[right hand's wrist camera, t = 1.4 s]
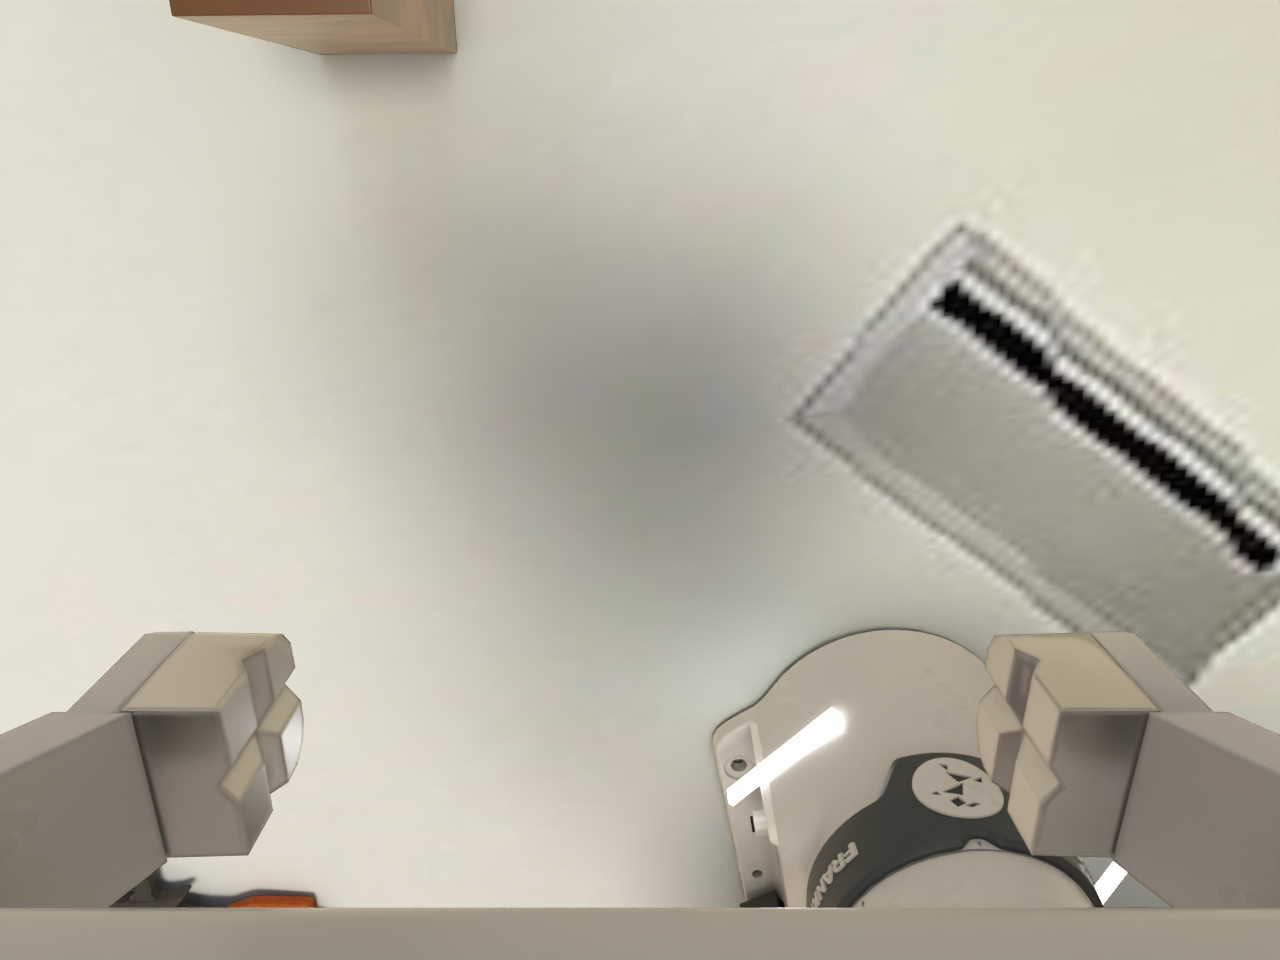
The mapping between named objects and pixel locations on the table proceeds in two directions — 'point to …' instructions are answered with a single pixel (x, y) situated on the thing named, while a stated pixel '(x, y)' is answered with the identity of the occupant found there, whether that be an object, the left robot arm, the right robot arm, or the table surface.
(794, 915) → the right robot arm
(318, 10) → the box
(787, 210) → the table surface
